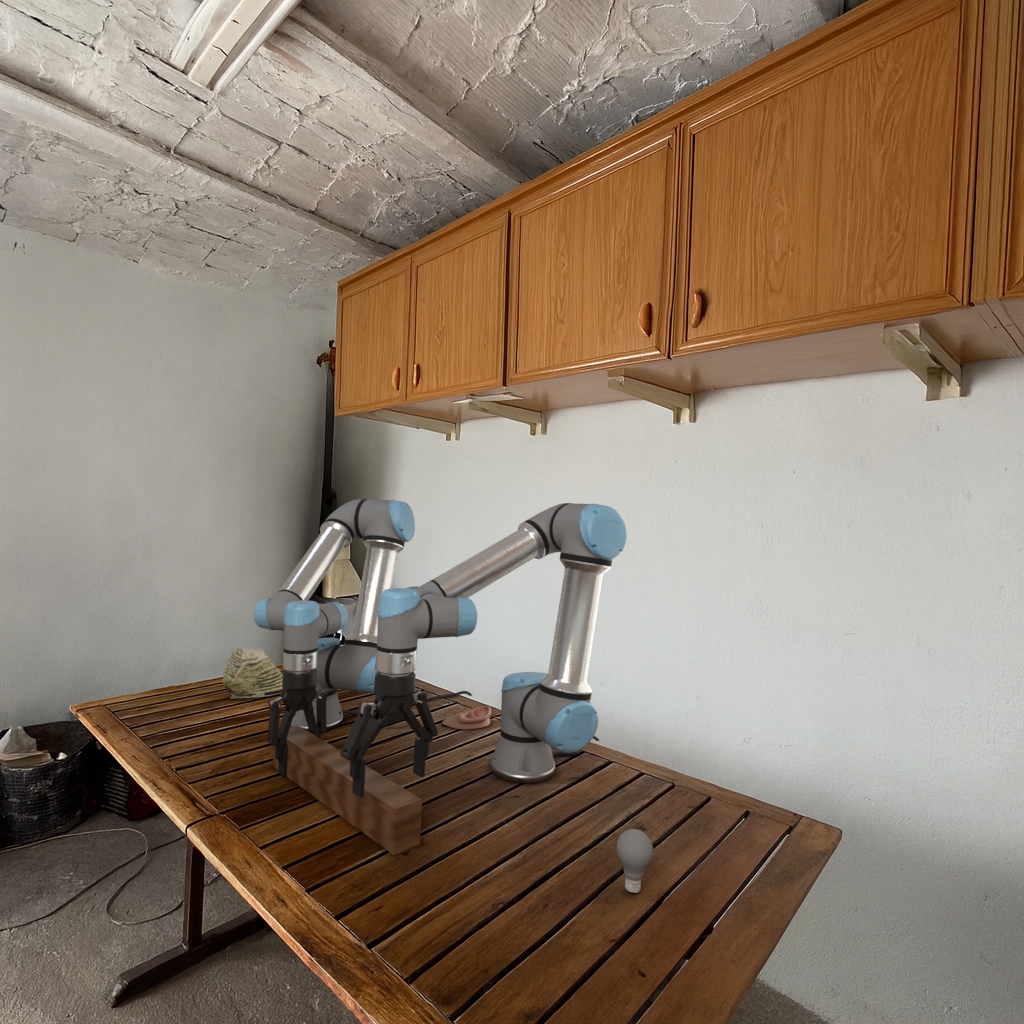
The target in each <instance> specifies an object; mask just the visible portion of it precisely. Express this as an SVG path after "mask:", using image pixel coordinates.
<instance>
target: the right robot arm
mask: <svg viewBox="0 0 1024 1024" xmlns="http://www.w3.org/2000/svg"><path fill="white" fill-rule="evenodd" d="M627 534H628V533H627V527H626V523H625V521H624V519H623V518H622V517H621V514H620V513H619V512H618V511H617V510H616V509H615V508H613V507H611V506H609V505H604V504H599V503H572V502H563V503H558V504H556V505H553V506H551V507H548V508H546V509H545V510H542V511H541V512H539V513H537V514H535V515H533V516H531V517H530V518H528V519H526V520H524V521H522V522H520V524H519V525H518V526H517V530H516V531H514V532H511V533H510V534H509V535H507V536H505V537H504V538H502V539H500V540H498V541H496V542H495V543H493V544H492V545H490V546H488V547H486V548H485V549H483V550H481V551H479V552H477V553H476V554H474V555H472V556H471V557H468V558H467V559H466V560H463V561H462V562H460V563H458V564H457V565H455V566H453V567H451V568H450V569H448V570H446V571H445V572H443V573H441V574H440V575H437V576H436V577H434V578H433V579H431V580H429V581H426V582H425V583H423V584H422V585H420V586H415V585H414V586H407V587H404V588H403V587H392V588H391V589H386V590H384V591H383V592H382V593H381V595H380V600H379V607H378V614H377V616H378V629H377V648H376V662H375V669H376V670H377V671H378V672H377V673H376V674H375V684H374V692H375V693H374V696H375V697H374V700H373V702H365V701H361V702H360V701H359V703H358V704H359V705H358V710H357V711H358V714H356V717H355V719H354V721H353V724H352V726H351V728H350V731H349V733H348V734H347V737H346V739H345V742H344V745H343V746H342V749H341V750H340V751H341V753H340V755H341V756H342V757H344V758H345V759H347V760H349V761H350V777H352V778H353V785H352V793H354V794H355V795H357V796H358V797H360V798H361V797H364V784H365V766H367V765H366V763H367V760H365V759H364V757H365V755H366V753H367V752H368V751H369V749H370V747H371V746H372V744H373V743H374V742H375V740H376V738H377V737H378V736H379V734H380V732H381V731H382V730H383V729H385V728H386V726H387V725H391V724H394V723H396V722H399V723H400V722H403V721H405V722H406V723H407V725H408V726H409V727H410V728H411V730H412V731H413V732H414V734H415V735H416V736H417V737H418V738H416V739H414V748H413V749H414V750H413V766H412V767H413V768H412V773H413V774H414V775H416V776H418V777H420V778H424V777H425V776H426V760H427V759H426V758H427V757H428V756H429V747H430V744H432V743H433V742H434V737H437V736H438V734H439V730H438V728H437V725H436V723H435V721H434V717H433V715H432V712H431V709H430V707H429V705H428V701H427V698H428V694H427V693H426V692H424V691H422V690H419V689H416V677H417V676H416V673H415V671H416V669H417V653H418V642H419V641H418V640H424V639H438V638H459V637H464V636H468V635H469V636H470V635H471V634H472V633H474V632H475V630H476V628H477V624H478V610H477V607H476V604H475V602H474V601H473V600H472V599H471V597H472V596H474V595H475V594H477V593H478V592H481V591H482V590H483V589H485V588H487V587H488V586H490V585H491V584H493V583H495V582H497V581H498V580H500V579H501V578H504V577H505V576H506V575H508V574H510V573H512V572H513V571H515V570H517V569H518V568H520V567H521V566H524V565H525V564H526V563H528V562H530V561H531V560H533V559H536V560H542V559H543V558H545V557H546V556H549V555H551V554H555V553H559V561H560V563H561V564H562V566H563V568H564V572H563V577H562V585H561V592H560V598H559V603H558V610H557V617H556V623H555V628H554V636H553V640H552V641H553V642H552V647H551V654H550V660H549V665H548V666H549V667H548V673H546V672H541V671H521V672H513V673H509V674H507V675H506V676H504V678H503V680H502V686H501V691H500V692H501V705H500V732H499V733H500V734H499V739H498V741H497V744H496V746H495V749H494V751H493V754H492V757H491V761H490V769H491V772H492V774H494V775H495V776H496V777H498V778H499V779H502V780H505V781H507V782H511V783H517V784H536V783H541V782H545V781H547V780H550V779H551V778H552V777H554V775H555V771H556V762H555V759H554V756H570V757H574V756H578V755H579V754H580V753H581V750H583V749H584V748H585V747H587V744H590V743H591V741H592V740H595V741H596V742H600V738H598V737H597V736H595V735H596V733H597V730H598V726H599V713H598V712H597V711H596V708H595V707H594V705H593V704H592V703H591V701H592V700H591V699H592V693H593V689H592V688H591V686H590V685H589V683H588V681H587V680H588V673H589V668H590V667H589V666H590V660H591V655H592V648H593V641H594V635H595V628H596V622H597V616H598V611H599V610H598V609H599V602H600V596H601V589H602V583H603V576H604V574H605V573H607V572H609V570H611V568H612V565H613V559H614V558H615V559H616V558H617V557H618V556H619V555H620V554H621V552H623V551H624V549H625V547H626V544H627V537H628V535H627ZM413 703H415V708H416V710H417V714H418V716H419V718H420V720H421V722H420V721H419V720H418V718H417V717H416V714H415V713H414V712H413V710H412V709H411V708H412V707H413V706H414V705H413ZM373 711H375V713H373ZM421 723H422V724H421ZM552 749H553V750H557V751H552Z"/></svg>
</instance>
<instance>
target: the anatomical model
mask: <svg viewBox="0 0 1024 1024" xmlns="http://www.w3.org/2000/svg"><path fill="white" fill-rule="evenodd" d="M491 714H492V708H491V707H490V706H489V705H482V706H479V707H475V708H471V709H469V710H467V711H464V712H461V713H458V714H454V715H451V716H449V717H447V718H444V720H442V722H441V724H442V725H444V726H446V727H448V728H452V729H455V730H456V729H457V730H473V729H481V728H484V727H488V726H490V724H491V720H490V716H491Z"/></svg>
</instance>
